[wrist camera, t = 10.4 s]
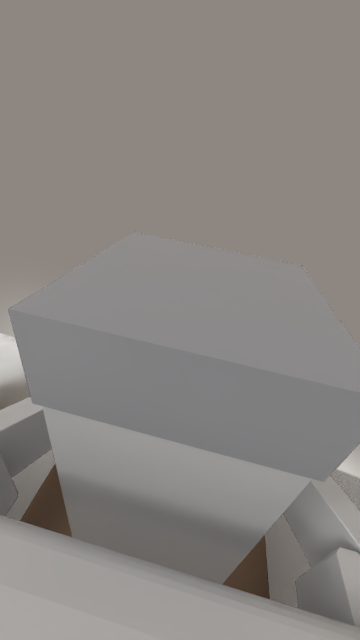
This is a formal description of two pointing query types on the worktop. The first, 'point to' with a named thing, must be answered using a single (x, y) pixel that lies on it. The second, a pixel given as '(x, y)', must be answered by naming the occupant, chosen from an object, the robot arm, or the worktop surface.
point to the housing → (187, 396)
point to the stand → (53, 517)
